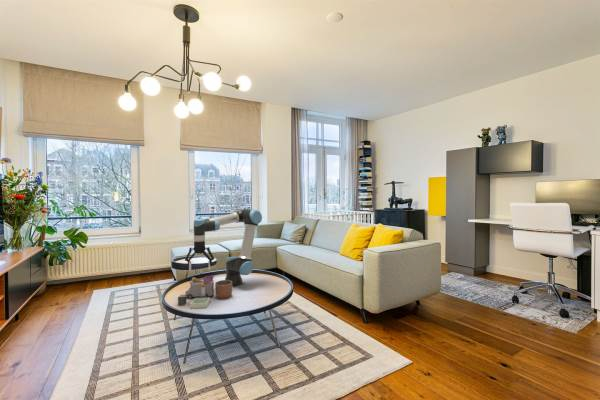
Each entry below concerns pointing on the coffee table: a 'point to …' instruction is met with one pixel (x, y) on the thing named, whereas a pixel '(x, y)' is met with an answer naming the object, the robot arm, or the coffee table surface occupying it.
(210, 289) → the toy vehicle
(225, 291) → the planter
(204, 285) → the pin
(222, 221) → the robot arm
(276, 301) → the coffee table surface
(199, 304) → the tray
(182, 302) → the chock
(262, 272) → the coffee table surface
